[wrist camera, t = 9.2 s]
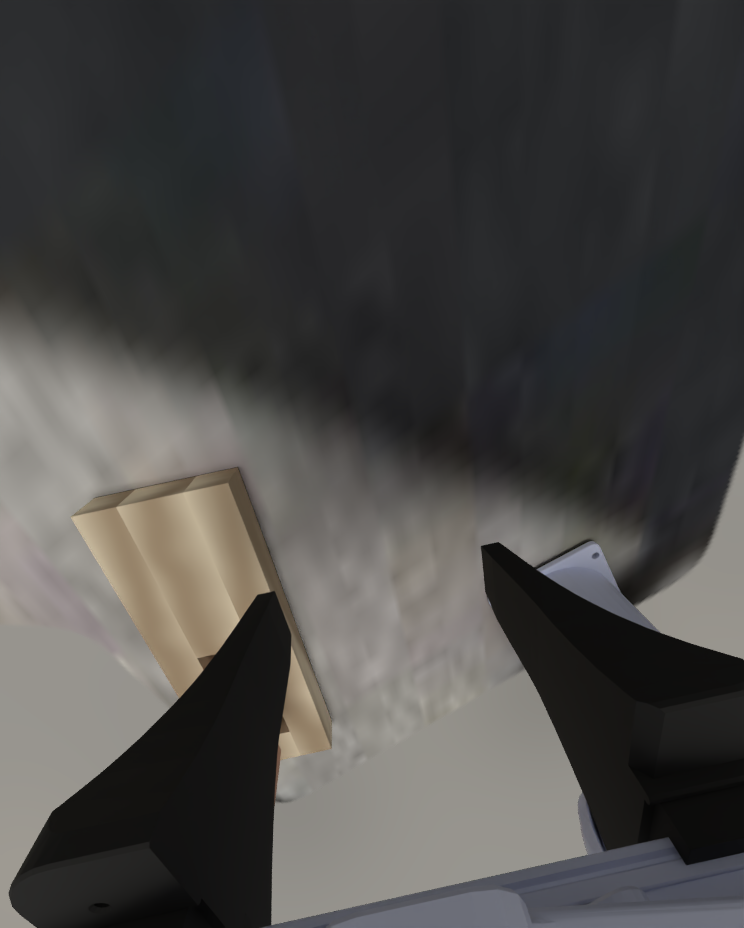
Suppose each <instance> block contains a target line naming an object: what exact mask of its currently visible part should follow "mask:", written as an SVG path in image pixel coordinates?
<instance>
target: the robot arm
mask: <svg viewBox="0 0 744 928" xmlns="http://www.w3.org/2000/svg"><path fill="white" fill-rule="evenodd" d="M481 551H482V561H483V572H484V582H485V592H486V594H487V597H488V602H489V604H490V606H491V607H492V609H493V611H494V613H495V616H496V618H497V620H498V622H499V624H500V625H501V627H502V629H503V631H504V633H505V634H506V636H507V638H508V640H509V641H510V643H511V645H512V647H513V648H514V650H515V652H516V654H517V655H518V657H519V659H520V660H521V662H522V664H523V666H524V667H525V669H526V671H527V673H528V674H529V676H530V678H531V680H532V681H533V683H534V685H535V687H536V689H537V691H538V693H539V695H540V697H541V699H542V701H543V703H544V706H545V707H546V710H547V712H548V714H549V717H550V719H551V721H552V723H553V725H554V727H555V730H556V732H557V734H558V736H559V739H560V741H561V743H562V745H563V748H564V750H565V752H566V754H567V757H568V759H569V761H570V764H571V766H572V768H573V771H574V773H575V775H576V778H577V780H578V782H579V785H580V787H581V789H582V794H581V795H580V797H579V801H578V814H579V820H580V825H581V832H582V837H583V841H584V844H585V848H586V851H587V854H588V855H586V856H581V857H577V858H572V859H567V860H563V861H558V862H555V863H549V864H545V865H541V866H536V867H532V868H527V869H522V870H518V871H514V872H509V873H505V874H500V875H496V876H491V877H487V878H482V879H478V880H473V881H469V882H464V883H460V884H455V885H451V886H446V887H442V888H437V889H433V890H428V891H424V892H419V893H415V894H411V895H406V896H401V897H397V898H392V899H388V900H383V901H379V902H375V903H370V904H365V905H361V906H356V907H352V908H348V909H343V910H338V911H334V912H330V913H325V914H321V915H316V916H311V917H307V918H302V919H298V920H294V921H289V922H284V923H280V924H275V925H271V898H272V891H271V890H272V848H273V820H274V800H275V782H276V767H277V752H278V744H279V735H280V729H281V723H282V717H283V710H284V704H285V698H286V691H287V685H288V678H289V672H290V665H291V635H292V634H291V632H290V629H289V627H288V624H287V621H286V619H285V616H284V613H283V611H282V608H281V606H280V603H279V600H278V598H277V595H276V593H275V591H272V592H267V593H263V594H258V595H257V596H256V597H255V599H254V600H253V602H252V603H251V605H250V606H249V608H248V609H247V610H246V612H245V613H244V615H243V616H242V618H241V619H240V621H239V622H238V624H237V625H236V627H235V628H234V630H233V631H232V632H231V634H230V635H229V637H228V638H227V640H226V641H225V642H224V644H223V645H222V647H221V648H220V649H219V651H218V652H217V653H216V654H215V656H214V657H213V658H212V660H211V661H210V662H209V664H208V665H207V666H206V667H205V669H204V670H203V671H202V673H201V674H200V675H199V676H198V677H197V679H196V680H195V681H194V682H193V683H192V685H191V686H190V687H189V688H188V689H187V690H186V691H185V692H184V694H183V695H182V696H181V697H180V698H179V699H178V700H177V701H176V703H175V704H174V705H173V706H172V707H171V708H170V709H169V710H168V711H167V712H166V713H165V714H164V715H163V716H162V717H161V718H160V719H159V720H158V721H157V722H156V723H155V724H154V725H153V726H152V727H151V728H150V729H149V730H148V731H147V732H146V733H145V734H144V735H143V736H142V737H141V738H140V739H139V740H137V742H135V743H134V744H133V745H132V746H131V747H130V748H129V749H128V750H127V751H126V752H124V753H123V754H122V755H121V756H120V757H119V758H118V759H116V760H115V761H114V762H113V763H112V764H111V765H110V766H109V767H107V768H106V769H105V770H104V771H103V772H101V773H100V774H99V775H98V776H97V777H95V778H94V779H93V780H92V781H90V782H89V783H88V784H87V785H85V786H84V787H83V788H82V789H80V790H79V791H78V792H77V793H75V794H74V795H73V796H72V797H70V798H69V799H68V800H67V801H65V802H64V803H63V804H62V805H60V806H59V807H58V808H56V809H55V810H54V811H53V812H52V813H51V815H50V816H49V818H48V820H47V822H46V824H45V825H44V827H43V829H42V831H41V832H40V834H39V836H38V838H37V840H36V841H35V843H34V845H33V847H32V848H31V850H30V852H29V854H28V855H27V857H26V859H25V861H24V863H23V864H22V866H21V868H20V870H19V872H18V873H17V875H16V877H15V879H14V880H13V882H12V884H11V887H10V890H9V897H10V900H11V904H12V907H13V908H14V909H15V910H16V911H17V912H18V913H19V914H20V915H21V916H22V917H24V918H25V919H26V920H28V921H29V922H30V923H31V924H33V925H34V926H35V927H37V928H744V660H743V659H741V658H738V657H734V656H731V655H727V654H724V653H721V652H717V651H713V650H710V649H707V648H704V647H700V646H697V645H694V644H691V643H688V642H685V641H682V640H679V639H676V638H673V637H670V636H667V635H665V634H662V633H660V632H659V631H658V630H657V629H656V628H655V627H654V626H653V625H652V624H651V623H650V622H649V621H648V620H647V619H646V618H645V617H644V616H643V615H642V614H641V613H640V612H639V611H638V610H637V609H636V608H635V607H634V606H633V605H632V604H631V603H630V602H629V601H628V600H627V599H626V598H625V597H624V596H623V594H622V593H621V592H620V590H619V588H618V585H617V583H616V581H615V579H614V577H613V574H612V572H611V570H610V568H609V565H608V563H607V561H606V559H605V557H604V554H603V552H602V550H601V548H600V546H599V545H598V544H597V543H596V542H594V541H589V542H587V543H585V544H583V545H581V546H579V547H577V548H576V549H574V550H572V551H570V552H568V553H566V554H564V555H562V556H561V557H559V558H557V559H555V560H553V561H551V562H549V563H547V564H546V565H544V566H542V567H540V568H538V569H535V568H534V567H532V566H531V565H529V564H528V563H527V562H525V561H524V560H522V559H521V558H520V557H518V556H517V555H516V554H514V553H513V552H511V551H510V550H509V549H507V548H506V547H505V546H503V545H502V544H500V543H499V542H497V543H492V544H488V545H483V546H481ZM594 553H595V554H594ZM593 554H594V555H593Z"/></svg>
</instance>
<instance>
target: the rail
mask: <svg viewBox="0 0 744 928" xmlns="http://www.w3.org/2000/svg"><path fill="white" fill-rule="evenodd" d="M71 518H72V520H73V522H74V523H75V525H76V527H77V528H78V530H79V532H80V533H81V535H82V537H83V538H84V540H85V542H86V543H87V545H88V547H89V548H90V550H91V552H92V553H93V555H94V557H95V558H96V560H97V562H98V563H99V565H100V567H101V568H102V570H103V572H104V573H105V575H106V577H107V578H108V580H109V582H110V583H111V585H112V587H113V588H114V590H115V592H116V593H117V595H118V597H119V598H120V600H121V602H122V604H123V605H124V607H125V609H126V610H127V612H128V614H129V615H130V617H131V619H132V620H133V622H134V624H135V625H136V627H137V629H138V630H139V632H140V634H141V635H142V637H143V639H144V640H145V642H146V644H147V645H148V647H149V649H150V650H151V652H152V654H153V655H154V657H155V659H156V660H157V662H158V664H159V665H160V667H161V669H162V670H163V672H164V674H165V675H166V677H167V679H168V680H169V682H170V684H171V685H172V687H173V689H174V690H175V692H176V694H177V695H178V697H179V698H180V697H181V696H182V695H183V694H184V692H185V691H186V690H187V689H188V688H189V687H190V686H191V685H192V683H193V682H194V681H195V680H196V679H197V677H198V676H199V675H200V674H201V673H202V671H203V670H204V669H205V667H206V666H207V665H208V664H209V662H210V661H211V660H212V658H213V657H214V656H215V654H216V653H217V652H218V651H219V649H220V648H221V647H222V645H223V644H224V642H225V641H226V640H227V638H228V637H229V635H230V634H231V632H232V631H233V630H234V628H235V627H236V625H237V624H238V622H239V621H240V619H241V618H242V616H243V615H244V613H245V612H246V610H247V609H248V608H249V606H250V605H251V603H252V602H253V600H254V599H255V597H256V596H257V595H258V594H263V593H267V592H272V591H275V593H276V595H277V598H278V600H279V603H280V606H281V608H282V611H283V613H284V616H285V619H286V621H287V624H288V627H289V629H290V632H291V634H292V635H291V665H290V672H289V678H288V685H287V691H286V698H285V704H284V710H283V717H282V723H281V729H280V735H279V746H280V749H281V757H280V760H283V759H287V758H292V757H296V756H301V755H305V754H310V753H315V752H319V751H324V750H328V749H331V748H332V720H331V718H330V715H329V712H328V710H327V707H326V704H325V701H324V699H323V696H322V693H321V691H320V688H319V685H318V683H317V680H316V677H315V675H314V672H313V669H312V666H311V664H310V661H309V658H308V656H307V653H306V650H305V648H304V645H303V642H302V639H301V637H300V634H299V631H298V629H297V626H296V623H295V621H294V618H293V615H292V613H291V610H290V607H289V604H288V602H287V599H286V596H285V594H284V591H283V588H282V586H281V583H280V580H279V577H278V575H277V572H276V569H275V567H274V564H273V561H272V559H271V556H270V553H269V551H268V548H267V545H266V542H265V540H264V537H263V534H262V532H261V529H260V526H259V524H258V521H257V518H256V515H255V513H254V510H253V507H252V505H251V502H250V499H249V497H248V494H247V491H246V489H245V486H244V483H243V480H242V478H241V475H240V472H239V470H238V467H236V468H232V469H227V470H223V471H218V472H213V473H209V474H204V475H199V476H195V477H190V478H186V479H181V480H176V481H172V482H167V483H162V484H158V485H153V486H149V487H144V488H139V489H135V490H130V491H125V492H121V493H116V494H111V495H107V496H102V497H98V498H94V499H93V500H91V501H90V502H89V503H88V504H86V505H85V506H84V507H83V508H81V509H80V510H79V511H78V512H76V513H75V514H74V515H72V516H71Z"/></svg>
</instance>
